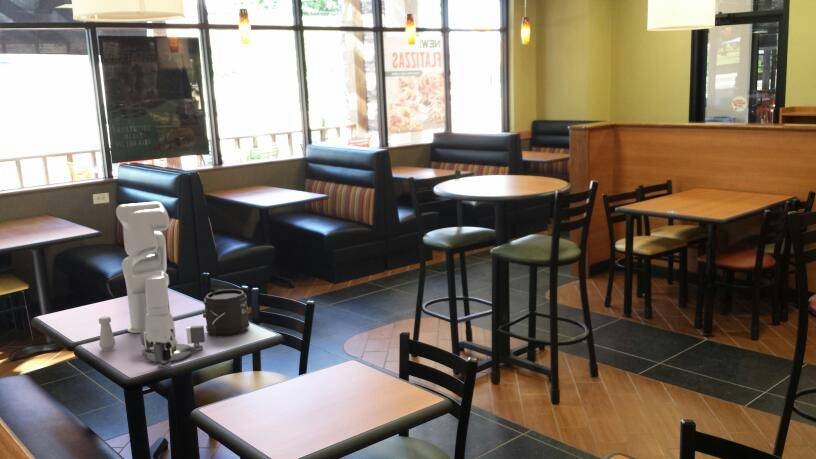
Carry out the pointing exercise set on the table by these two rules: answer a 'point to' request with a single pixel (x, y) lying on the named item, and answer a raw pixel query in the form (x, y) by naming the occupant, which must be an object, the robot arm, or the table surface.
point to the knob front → (159, 352)
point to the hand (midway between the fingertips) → (163, 358)
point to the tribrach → (173, 354)
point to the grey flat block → (144, 341)
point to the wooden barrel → (226, 313)
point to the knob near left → (195, 335)
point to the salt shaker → (106, 334)
